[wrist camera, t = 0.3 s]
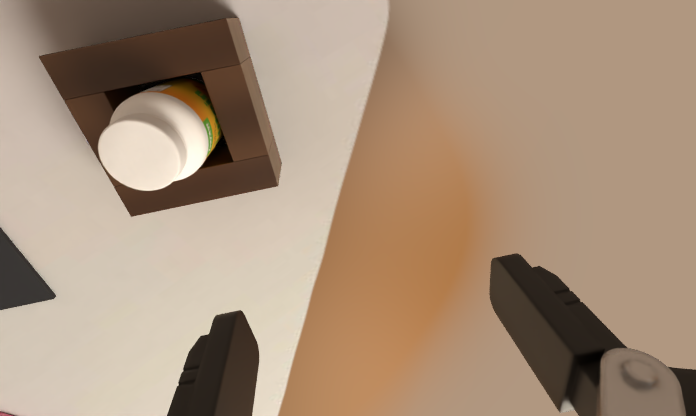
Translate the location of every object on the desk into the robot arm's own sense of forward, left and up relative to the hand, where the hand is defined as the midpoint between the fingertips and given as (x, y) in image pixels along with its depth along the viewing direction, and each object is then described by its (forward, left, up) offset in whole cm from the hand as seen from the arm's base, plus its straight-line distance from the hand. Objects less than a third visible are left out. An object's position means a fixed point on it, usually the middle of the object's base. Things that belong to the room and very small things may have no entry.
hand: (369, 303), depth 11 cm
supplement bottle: (-3, -10, -20) cm, 23 cm away
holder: (-3, -10, -20) cm, 22 cm away
